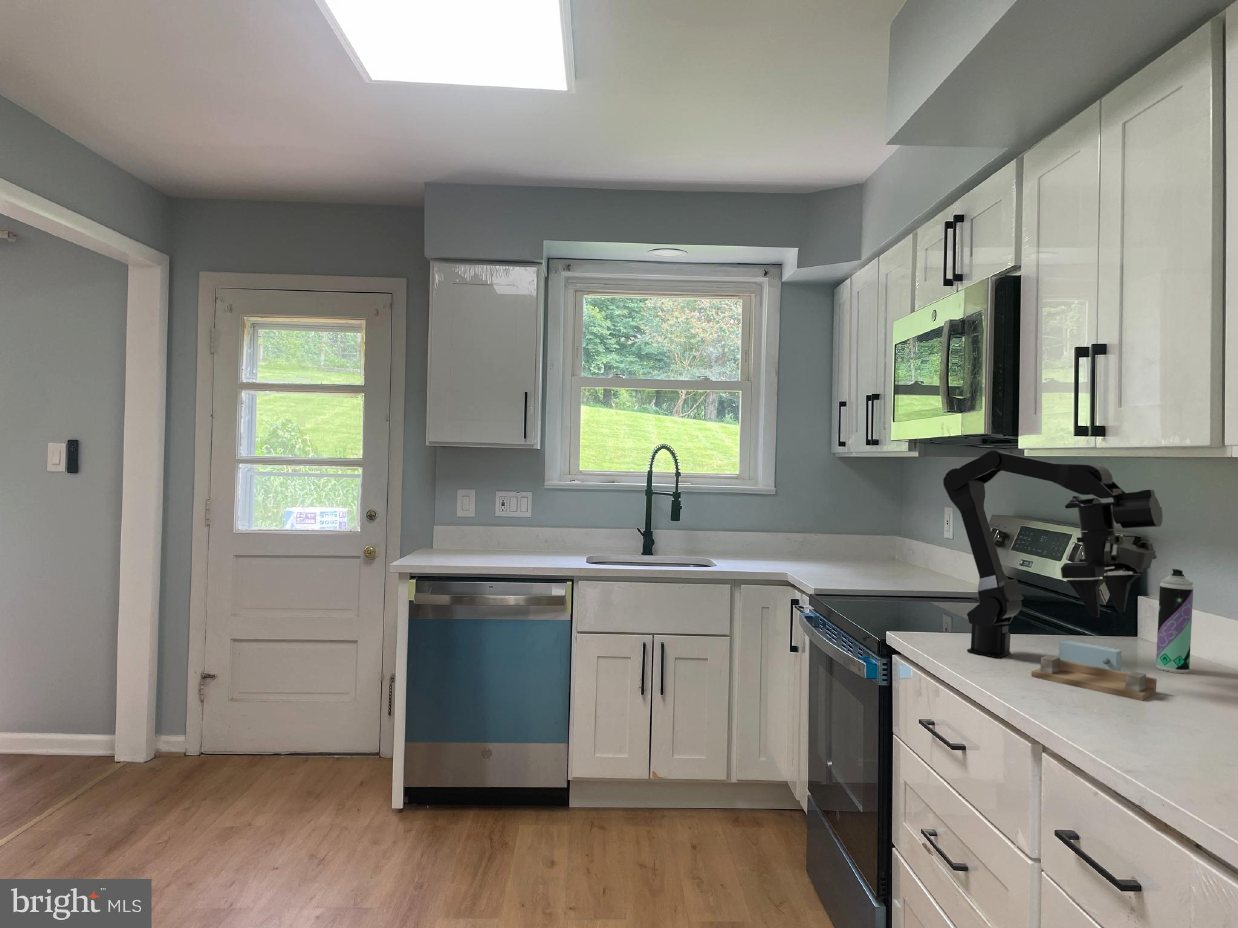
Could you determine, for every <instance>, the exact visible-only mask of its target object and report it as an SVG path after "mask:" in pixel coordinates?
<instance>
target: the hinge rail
mask: <svg viewBox="0 0 1238 928" xmlns="http://www.w3.org/2000/svg"><path fill="white" fill-rule="evenodd" d="M1030 674H1031V676H1032V677H1031V676H1030V677H1031V678H1036V679H1040V678H1041V680H1045V679H1046V681H1051V682H1055V683H1058V684H1059V683H1060V684H1063V685H1069V686H1073V687H1079V688H1082V689H1087V690H1091V691H1095V692H1101V693H1106V694H1110V695H1113V696H1119V697H1123V698H1128V699H1132V700H1137V701H1144V700H1146V699H1148V698H1150V697H1151V696H1153V695H1154V694H1156V693H1157V678H1155V677H1150V676H1147V673H1143V672H1139V671H1134V670H1133V671H1131V672H1124V671H1121V672H1120V671H1115V670H1110V669H1105V668H1100V667H1095V666H1090V665H1085V664H1080V663H1075V662H1070V661H1065V660H1060V657H1059V656H1056V655H1051V654H1048V655H1045V656H1042V657H1040V667H1038V668H1036V669H1033V670H1031V673H1030Z"/></svg>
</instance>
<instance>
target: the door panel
mask: <svg viewBox="0 0 1238 928" xmlns="http://www.w3.org/2000/svg"><path fill="white" fill-rule="evenodd" d="M1058 657H1060V660H1065V661H1070V662H1075V663H1080V664H1085V665H1090V666H1095V667H1100V668H1105V669H1110V670H1115V671H1120V672H1122V668H1121V667H1122V649H1117V648H1112V647H1106V646H1101V645H1095V644H1089V643H1084V642H1079V641H1075V640H1070V639H1069V640H1068V639H1064V640H1060V641H1059V646H1058Z"/></svg>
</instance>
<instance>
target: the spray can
mask: <svg viewBox="0 0 1238 928" xmlns="http://www.w3.org/2000/svg"><path fill="white" fill-rule="evenodd" d="M1184 575H1185V574H1183V570H1181V569H1178V568H1172V569H1171V573H1170V574H1168V576H1166V577H1165V578H1162V579H1160V583H1159V595H1158V614H1157V615H1158V616H1157V617H1158V618H1157V619H1158V620H1157V636H1156V638H1157V639H1156V655H1155V656H1156V659H1155V668H1156V669H1157V668H1158V670H1159V669H1160V671H1163V670H1164V671H1163V672H1167V671H1169V672H1168V673H1172V672H1173V673H1174V674H1183V673H1184V674H1189V673H1190V664H1191V663H1190V661H1191V660H1190V659H1191V644H1192V643H1191V641H1192V623H1193V622H1192V621H1193V619H1192V618H1193V602H1194V599H1193V598H1194V597H1193V596H1194V586H1193V582H1192V581H1190V580H1188V579H1187V577H1186V575H1185V576H1184Z"/></svg>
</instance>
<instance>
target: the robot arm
mask: <svg viewBox="0 0 1238 928" xmlns="http://www.w3.org/2000/svg"><path fill="white" fill-rule="evenodd" d="M1001 472H1006V473H1011V474H1016V475H1020V476H1024V477H1029V478H1034V479H1038V480H1042V481H1043V480H1044V481H1047V482H1051V483H1054V484H1056V485H1058V486H1059V487H1062V488H1064V489H1065V490H1069V491H1072V492H1073V493H1077V494H1079V495H1073V496H1072V498H1071V499H1070V500H1069V501H1068V502H1067V503H1066V504H1065V505H1064V508H1065V509H1068V510H1069V509H1077V515H1078V522H1079V530H1080V537H1079V536H1077V537H1076V543H1077V544H1078V543H1079V544H1081V545H1082V546H1081V547H1082V554H1083V558H1080V559H1079V560H1078V561H1077V562H1075V561H1074V562H1065V563H1064V564H1063V565H1062V566H1061V567H1060V575H1061V579H1066V581H1065V582H1066V583H1067V584H1069V585H1070V587H1072V589H1073V590H1074V591H1075V593H1076V594H1077V596H1078V597H1079V599H1081V601H1082V603H1083V604H1084V606H1085V608H1086V609H1087V611H1088V612H1089V613H1090V615H1091V617H1095V618H1099V617H1100V612H1101V611H1100V610H1101V606H1100V605H1101V602H1100V601H1101V600H1100V599H1101V598H1100V592H1101V591H1100V588H1101V587H1102V586H1103V584H1104V585H1105V586H1106V589H1107V591H1108V593H1109V596H1110V599H1111V600H1112V603H1113V606H1114V607H1115V609H1116V611H1117V613H1125V612H1126V608H1127V607H1126V606H1127V602H1128V597H1129V592H1130V590H1131V589H1130V588H1131V586H1132V585H1131V584H1132V583H1133V582H1134V581H1135V580H1136V579H1137V578H1139V577H1141V573H1144V572H1145V570H1144V569H1151V565H1152V561H1153V560H1156V559H1157V555H1156V550H1155V549H1154V545H1153V543H1152V542H1148V541H1144V540H1143V541H1139V542H1138V543H1137V544H1136V545H1135V544H1130V543H1125V542H1124V538H1123V536H1122V535H1121V534H1116V533H1117V532H1116V525H1120V526H1121V528H1122V529H1123V530H1127V529H1144V528H1145V529H1146V528H1159V527H1161V526H1162V524H1163V518H1164V517H1163V515H1164V514H1163V508H1162V506H1161V505H1160V502H1159V499H1158V498H1157V496H1156V494H1155V490H1154V489H1142V490H1139V491H1133V492H1132V491H1131V492H1130V491H1129V492H1126V491H1125V490H1124V489H1123V488H1121V486H1119V485H1118V483H1116V482H1115V481H1114V480H1113V479H1114V478H1113V474H1112V473H1111V472H1110V469H1108V468H1107V467H1105V466H1103V465H1098V464H1097V465H1096V464H1074V463H1058V462H1055V461H1047V460H1043V459H1037V458H1034V457H1028V456H1024V455H1018V454H1012V453H1010V452H1009V453H1008V452H1006V451H1004V450H995V449H994V450H992V449H991V450H988V451H987V452H986V453H984V454H983V455H981V456H979V457H977V458H975V459H973V460H971V461H970V462H967V463H964V464H963V465H961V466H960V467H957V468H956V467H955V468H952V469H950V470H948V471H947V472H946V474H945V476H944V477H943V479H942V483H943V487H944V490H945V492H946V494H947V497H949V500H950V502H952V504H953V505H954V506H955V507H956V509H957V510H958V512H959V513H960V515H961V519H962V520H961V521H962V523H963V526H964V529H965V530H964V531H965V533H966V536H967V540H968V542H969V546H970V549H971V552H972V556H973V559H974V563H975V566H976V569H977V573H978V575H979V582H978V588H977V597H978V604H977V605H976V606H975V607H973V608H972V609H971V610H969V611H968V612H967V613H966V616H967V619H968V623H969V624H971V635H970V638H971V639H970V648H967V649H966V652H967V653H972V654H977V655H982V656H987V657H992V658H998V659H999V658H1002V657H1005V656H1007V655H1010V654H1011V648H1010V647H1011V633H1010V632H1009V624H1011V622H1012V620H1013V618H1014V616H1017V615H1018V614H1019V612H1020V610H1021V609H1022V606H1023V603H1022V600H1024V596H1023V595H1022V593H1021V591H1020V586H1019V581H1018V579H1009V578H1008V576H1007V575H1006V574H1005V571H1004V569H1003V566H1002V564H1001V560H1000V556H999V554H998V550H997V546H996V544H995V540H994V537H993V534H992V531H991V527H990V524H989V521H988V517H987V514H986V511H985V508H984V507H985V498H986V487H985V485H986V484H988V483H989V482H991V481H992V480H993V479H994V478H995V477H996V476H997V475H998V474H999V473H1001ZM1080 495H1082V496H1094V497H1092V498H1081V497H1080ZM1101 499H1102V500H1103V499H1112V500H1113V501H1110V502H1108V501H1107V502H1102V500H1101ZM1115 523H1116V525H1115Z"/></svg>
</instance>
